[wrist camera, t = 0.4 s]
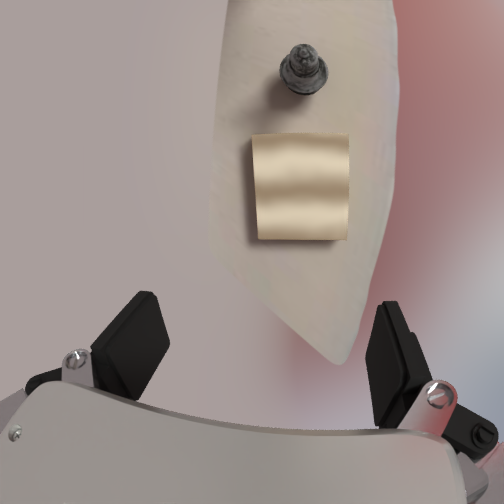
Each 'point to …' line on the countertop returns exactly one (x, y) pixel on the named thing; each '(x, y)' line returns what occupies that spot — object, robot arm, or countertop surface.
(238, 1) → the countertop surface
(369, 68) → the countertop surface
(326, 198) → the birch base block
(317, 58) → the weathered stone finial
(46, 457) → the robot arm
